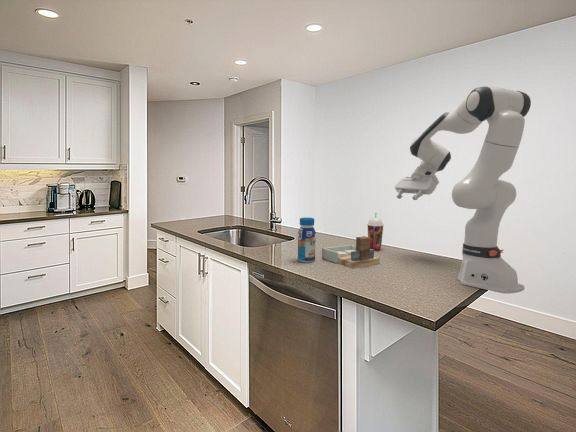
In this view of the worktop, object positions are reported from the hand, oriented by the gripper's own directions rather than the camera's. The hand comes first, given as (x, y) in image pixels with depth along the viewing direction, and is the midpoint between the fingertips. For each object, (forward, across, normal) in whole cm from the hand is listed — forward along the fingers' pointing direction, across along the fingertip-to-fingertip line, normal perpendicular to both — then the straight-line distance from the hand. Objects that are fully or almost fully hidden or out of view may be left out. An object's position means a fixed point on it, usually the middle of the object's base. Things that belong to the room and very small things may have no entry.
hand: (406, 198), depth 171 cm
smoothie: (+18, -24, +24) cm, 38 cm away
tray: (+37, -15, +4) cm, 41 cm away
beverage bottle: (+50, -21, -8) cm, 55 cm away
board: (+37, -5, +4) cm, 38 cm away
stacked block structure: (+36, -2, +2) cm, 36 cm away
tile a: (+34, -15, +7) cm, 38 cm away
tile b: (+39, -14, +1) cm, 42 cm away
